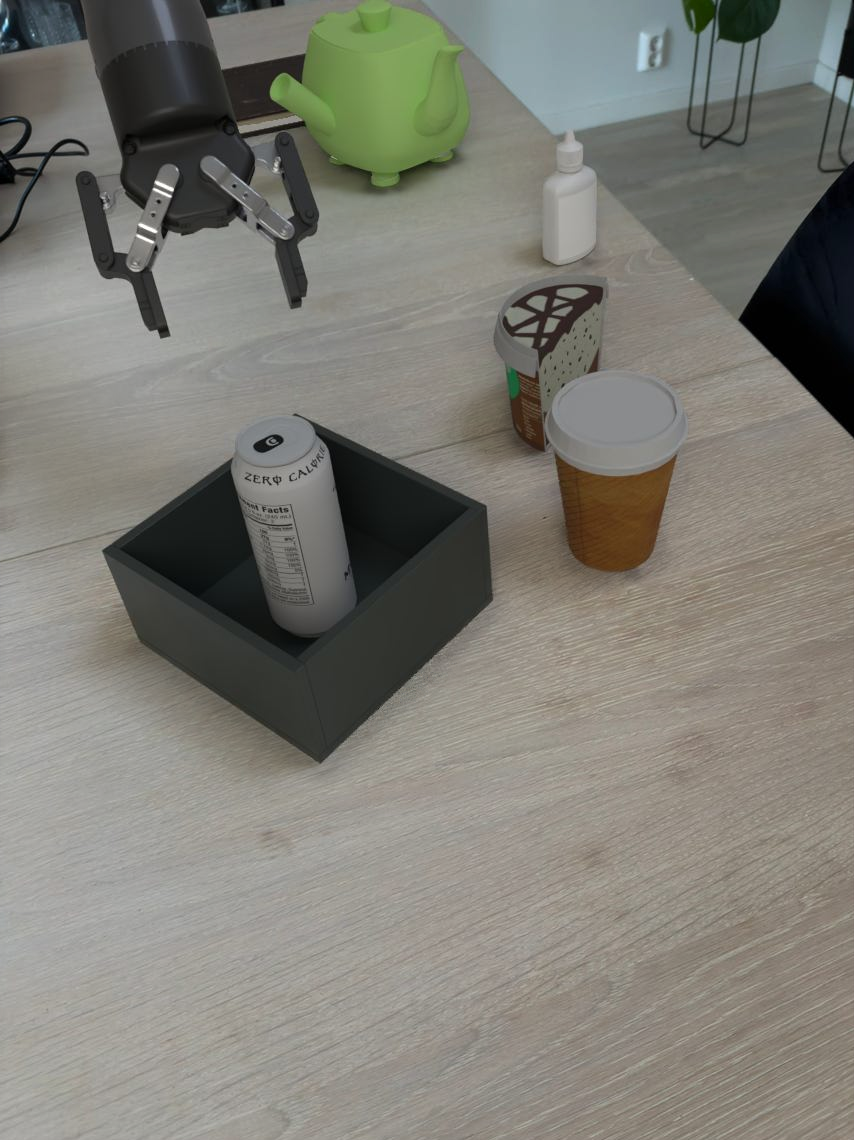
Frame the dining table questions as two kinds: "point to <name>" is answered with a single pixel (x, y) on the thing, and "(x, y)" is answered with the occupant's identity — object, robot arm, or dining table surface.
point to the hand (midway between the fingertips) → (231, 320)
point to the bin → (354, 644)
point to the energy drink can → (294, 523)
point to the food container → (549, 344)
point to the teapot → (379, 90)
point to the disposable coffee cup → (615, 463)
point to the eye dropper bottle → (569, 205)
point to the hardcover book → (261, 92)
